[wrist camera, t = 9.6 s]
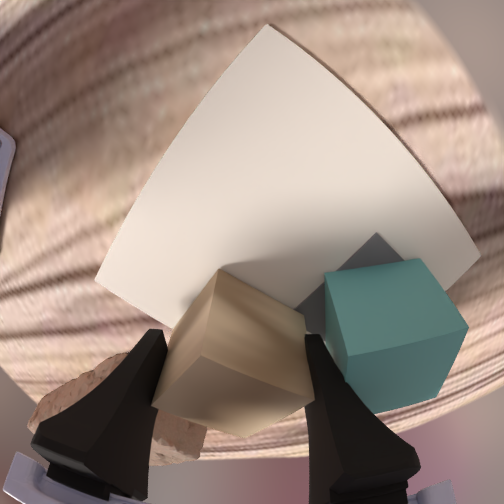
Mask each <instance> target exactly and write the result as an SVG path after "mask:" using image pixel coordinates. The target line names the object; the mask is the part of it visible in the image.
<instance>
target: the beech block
mask: <svg viewBox="0 0 504 504" xmlns="http://www.w3.org/2000/svg"><path fill="white" fill-rule="evenodd" d="M305 334H307V332H306V325H305V318H304V315H303V314H301V313H299V312H297V311H295V310H293V309H291V308H290V307H288V306H286V305H284V304H282V303H280V302H279V301H277V300H275V299H273V298H271V297H269V296H268V295H266V294H264V293H262V292H260V291H259V290H257V289H255V288H253V287H251V286H250V285H248V284H246V283H244V282H242V281H241V280H239V279H237V278H235V277H233V276H232V275H230V274H228V273H226V272H225V271H223V270H221V269H219V268H218V270H217V271H216V272H215V274H214V275H213V276H212V278H211V279H210V280H209V282H208V283H207V284H206V286H205V287H204V288H203V290H202V291H201V292H200V294H199V295H198V296H197V298H196V299H195V300H194V301H193V303H192V304H191V305H190V307H189V308H188V309H187V311H186V312H185V313H184V315H183V316H182V318H181V319H180V320H179V322H178V323H177V324H176V326H175V327H174V328H173V331H172V334H171V337H170V341H169V344H168V347H167V348H168V352H167V355H166V358H165V362H164V365H163V369H162V372H161V375H160V378H159V381H158V384H157V387H156V390H155V394H154V397H153V400H152V404H151V406H153V407H155V408H158V409H160V410H162V411H165V412H167V413H170V414H172V415H175V416H178V417H180V418H183V419H186V420H188V421H191V422H194V423H197V424H200V425H203V426H205V427H209V428H212V429H215V430H218V431H221V432H224V433H228V434H231V435H234V436H238V437H241V438H247V437H249V436H251V435H253V434H255V433H257V432H259V431H261V430H263V429H265V428H267V427H269V426H270V425H272V424H274V423H276V422H278V421H280V420H281V419H283V418H285V417H287V416H289V415H290V414H292V413H294V412H296V411H297V410H299V409H301V408H302V407H304V406H306V405H307V404H309V403H311V402H312V401H314V400H315V397H314V389H313V385H312V380H311V375H310V370H309V366H308V361H307V356H306V348H305V340H304V337H305Z"/></svg>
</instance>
